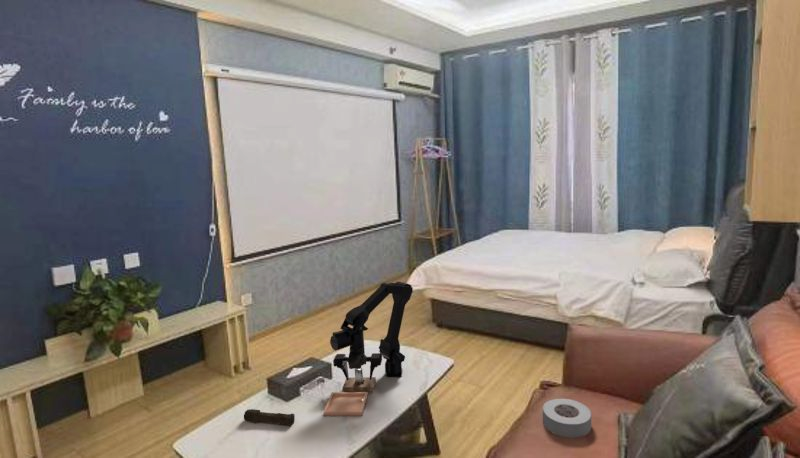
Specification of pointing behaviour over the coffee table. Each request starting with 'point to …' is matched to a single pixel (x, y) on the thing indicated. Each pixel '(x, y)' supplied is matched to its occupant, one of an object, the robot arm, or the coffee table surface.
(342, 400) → the terracotta dish
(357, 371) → the metal pin
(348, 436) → the coffee table surface
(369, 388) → the clamp block
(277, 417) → the hand tool
